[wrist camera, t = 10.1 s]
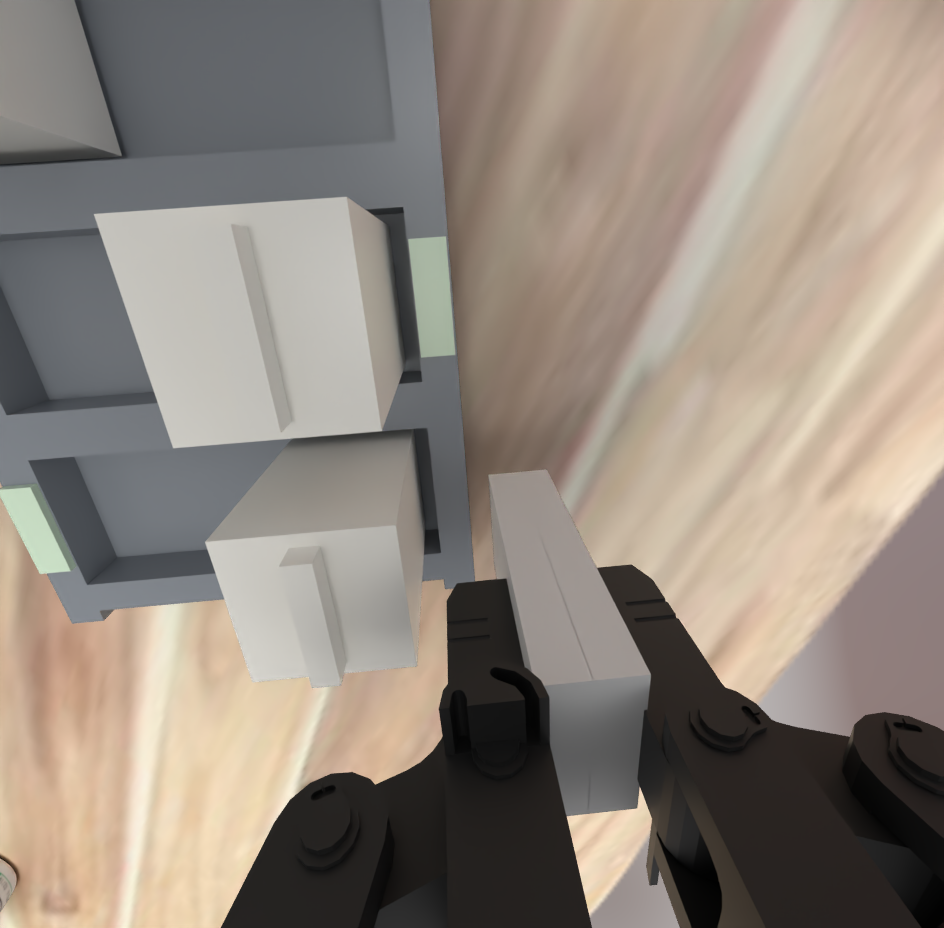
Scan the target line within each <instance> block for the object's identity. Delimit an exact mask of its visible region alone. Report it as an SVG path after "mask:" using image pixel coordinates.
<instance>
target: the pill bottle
mask: <svg viewBox="0 0 944 928" xmlns="http://www.w3.org/2000/svg"><path fill="white" fill-rule="evenodd" d="M16 882H17V878H16V874H15V872H14V870H13V869H12V867H11V866H10V865H9V864H7V863H6V862H5V861H3V860H2V859H0V911H1V910H2V909H3V907H4V906H5V904H6V903H7V901H8V900H9V898H10V896H11V895H12V893H13V891H14V889H15V886H16Z"/></svg>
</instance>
